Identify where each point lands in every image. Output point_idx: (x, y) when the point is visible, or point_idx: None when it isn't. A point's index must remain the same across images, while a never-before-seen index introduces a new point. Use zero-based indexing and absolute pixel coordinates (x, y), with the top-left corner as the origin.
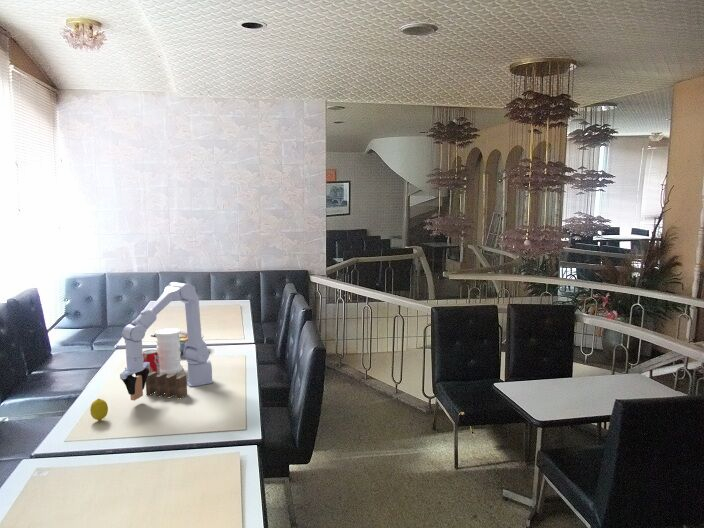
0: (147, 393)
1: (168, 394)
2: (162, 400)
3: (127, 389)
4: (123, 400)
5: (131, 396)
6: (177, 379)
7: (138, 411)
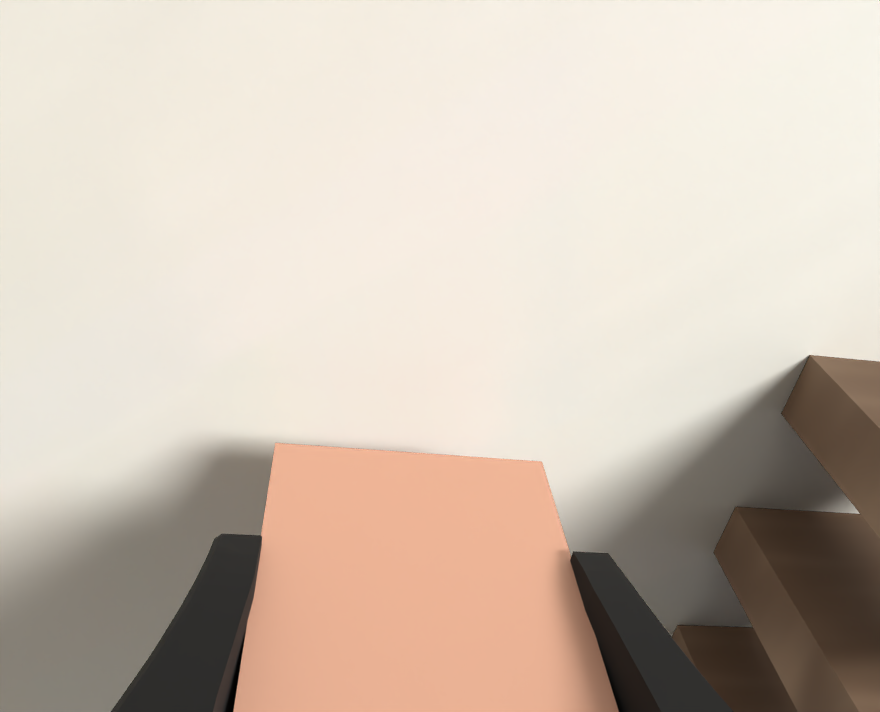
0: (817, 392)
1: None
2: None
3: (171, 630)
4: (538, 80)
5: (266, 518)
6: None
7: (114, 572)
